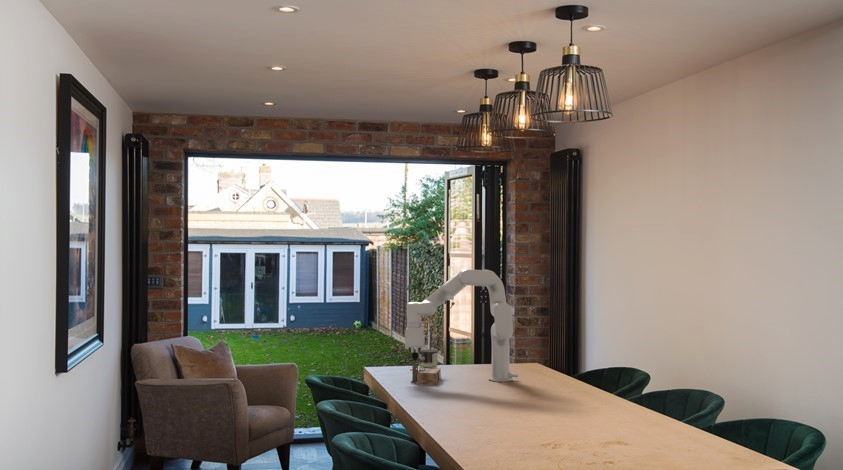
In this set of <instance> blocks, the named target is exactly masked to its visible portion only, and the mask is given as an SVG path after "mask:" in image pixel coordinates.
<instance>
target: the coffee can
mask: <svg viewBox="0 0 843 470" xmlns="http://www.w3.org/2000/svg"><path fill="white" fill-rule="evenodd" d="M418 359H419V361H418V370H419V369H420V368H438V350H437V349H431V348H430V349H429V348H428V349H426V348H425V349H421V350H420V351H419V352H418Z"/></svg>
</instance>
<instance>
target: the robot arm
mask: <svg viewBox="0 0 843 470" xmlns="http://www.w3.org/2000/svg"><path fill="white" fill-rule="evenodd" d="M467 286H473V287H486V289H487V290H488V295H489V306H490V314H491V315H492V316H493V319H494V322H493V324H492V325H491V328H490V338H491V376H489V377H488V380H489V381H491V382H500V383H505V382H512V381H513V378H519V373H512V372H511V371H510V348H511V347H510V339H511V338H512V336H513V334H514V323H513V313H512V311H513V310H512V308H511V306H510V304H508V302H507V299H506V291H505V286H504V283H503V281H502V279H500V277H499V276H498V275H497V274H496V272H494V271H492V270H489V269H471V268H463V269H460V270H459V271H458V272H456V273H455V274H454V275H453V276H452V277H451V278H449V279H448V280H447V281H446V282H444V283H443V284H442V285H441V286H440V287H439V288H438V289H436V290H435V291H434V292H433V293H431V294H429V296H428V297H426V298H425V299H424V300H423V301H421V302H419V301H410V302H407V303H406V323H407V324H406V325H407V326H406V328H405V333H404V334H405V336H404V349H405V350H408V351H409V352H411V356H412V357H411V359H412V361H417V360H418V359H419V351H420V350H425V349H426V346H425V343H426V342H425V341H426V340H425V338H426V337H425V331H424V327H423V326H425V323H423V322H422V316H425V317H426V316H430V317H431V316H433V315H434V314H435V313H436V311H437V308H438V307H440V306H441V304H443V303H445V302H446V301H449V300H451V299H453V298H454V297H456V296H457V295H458V294H459V293H460V292H461V291H462V290H464V289H465V288H466V287H467Z"/></svg>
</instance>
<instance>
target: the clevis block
mask: <svg viewBox="0 0 843 470" xmlns="http://www.w3.org/2000/svg"><path fill="white" fill-rule="evenodd" d="M411 368H412V373H411V374H412V379H411V381H410V383H411V382H412V383H414V384H416V385H426V386H427V385H428V386H437V385H438V383H439V382H440V381H441V379H440V380H438V373H441V371H442V370H441V368H440V367H437V368H420V369H419V362H418V363H417V362H416V363H414V364H413V365H412V367H411ZM416 368H418V370H417V380H416Z"/></svg>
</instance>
